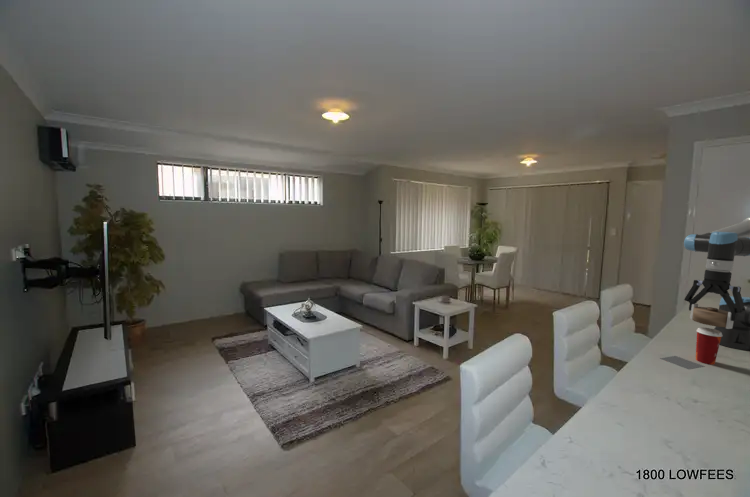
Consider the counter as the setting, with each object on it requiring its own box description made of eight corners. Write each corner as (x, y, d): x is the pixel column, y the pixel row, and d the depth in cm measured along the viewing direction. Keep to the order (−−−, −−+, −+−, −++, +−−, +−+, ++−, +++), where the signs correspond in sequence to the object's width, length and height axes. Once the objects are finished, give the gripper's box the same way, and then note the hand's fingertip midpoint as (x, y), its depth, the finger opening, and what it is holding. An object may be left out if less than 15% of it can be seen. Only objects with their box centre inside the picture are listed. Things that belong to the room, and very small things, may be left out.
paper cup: (723, 368, 133) (728, 334, 132) (700, 365, 135) (705, 332, 133) (708, 359, 141) (713, 327, 140) (687, 357, 143) (691, 325, 141)
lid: (702, 317, 143) (704, 303, 142) (736, 325, 133) (739, 311, 132) (685, 319, 140) (687, 305, 139) (719, 328, 129) (722, 313, 129)
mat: (675, 357, 143) (675, 355, 143) (704, 367, 133) (704, 366, 133) (659, 359, 139) (659, 358, 139) (688, 370, 130) (688, 369, 130)
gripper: (678, 265, 143) (671, 315, 146) (753, 276, 121) (743, 334, 124) (689, 265, 146) (682, 314, 148) (765, 275, 124) (755, 332, 126)
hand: (710, 323), depth 136 cm, fingers closed on lid, 11 cm apart
